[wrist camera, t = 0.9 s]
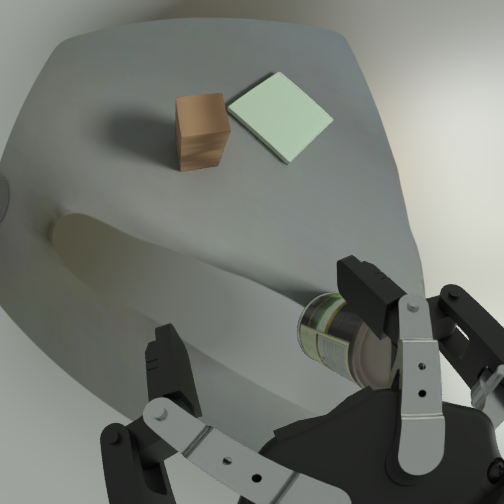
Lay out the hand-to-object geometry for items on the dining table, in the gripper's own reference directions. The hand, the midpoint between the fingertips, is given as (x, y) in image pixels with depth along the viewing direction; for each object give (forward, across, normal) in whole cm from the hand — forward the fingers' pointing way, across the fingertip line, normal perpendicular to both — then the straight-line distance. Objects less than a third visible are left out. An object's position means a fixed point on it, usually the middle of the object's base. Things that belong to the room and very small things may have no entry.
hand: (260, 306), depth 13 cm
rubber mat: (+32, -16, -4) cm, 36 cm away
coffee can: (+14, -11, +23) cm, 29 cm away
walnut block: (+29, -2, -2) cm, 29 cm away
